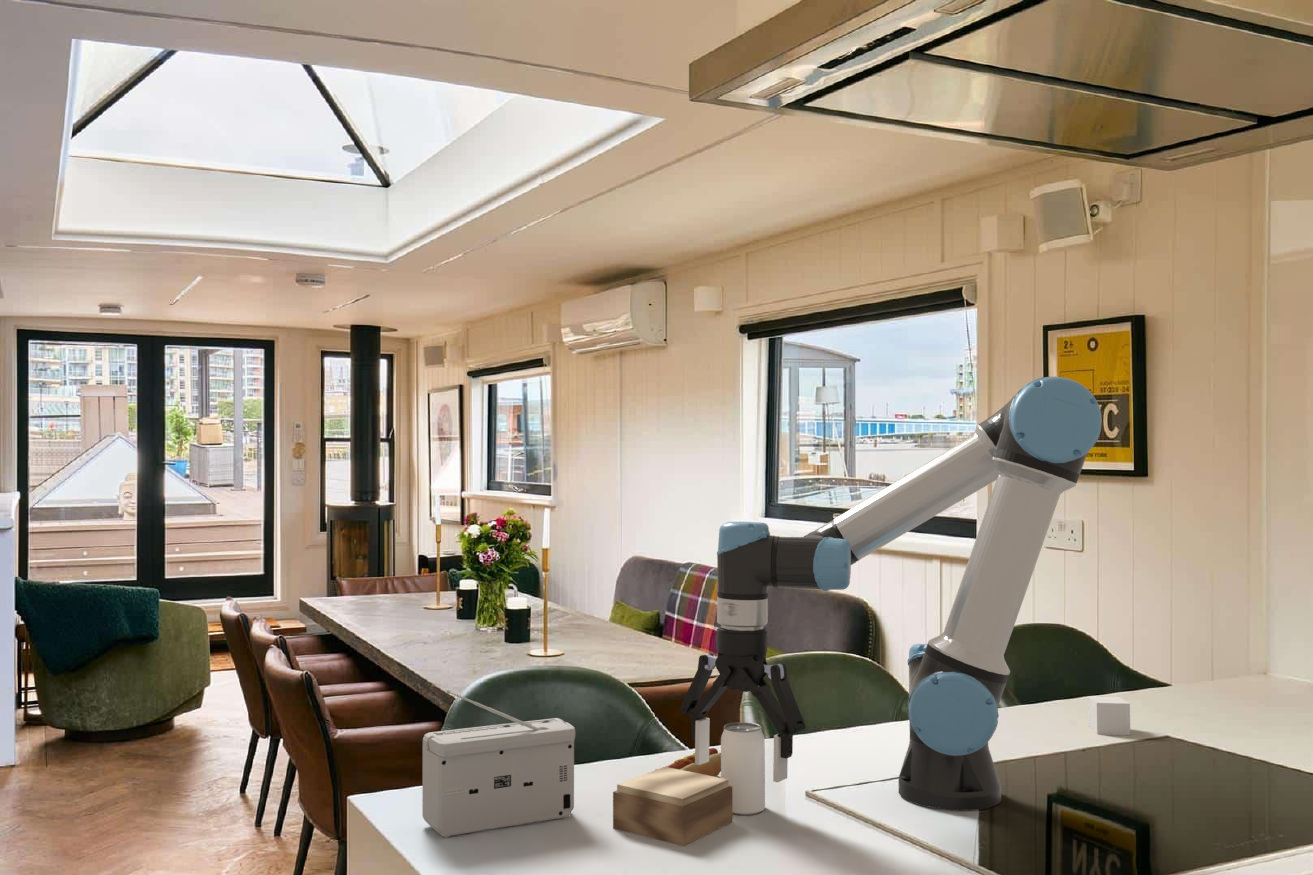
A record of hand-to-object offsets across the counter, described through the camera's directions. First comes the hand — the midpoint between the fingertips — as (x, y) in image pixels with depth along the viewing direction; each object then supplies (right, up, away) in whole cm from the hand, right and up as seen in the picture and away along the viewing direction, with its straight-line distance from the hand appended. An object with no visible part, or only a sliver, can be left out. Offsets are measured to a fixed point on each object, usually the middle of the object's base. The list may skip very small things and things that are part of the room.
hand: (740, 771), depth 156 cm
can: (0, -6, 0) cm, 6 cm away
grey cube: (+74, -7, +47) cm, 88 cm away
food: (-6, -6, +12) cm, 15 cm away
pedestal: (-10, -5, -7) cm, 14 cm away
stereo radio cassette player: (-34, -6, -6) cm, 35 cm away
